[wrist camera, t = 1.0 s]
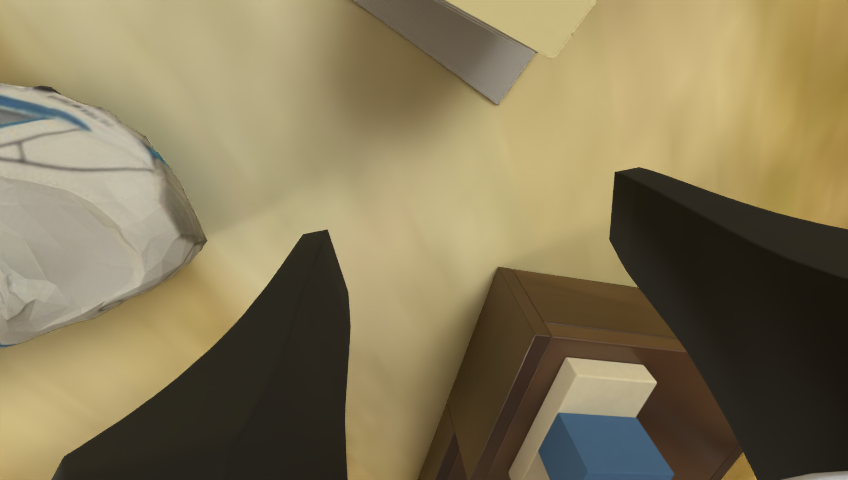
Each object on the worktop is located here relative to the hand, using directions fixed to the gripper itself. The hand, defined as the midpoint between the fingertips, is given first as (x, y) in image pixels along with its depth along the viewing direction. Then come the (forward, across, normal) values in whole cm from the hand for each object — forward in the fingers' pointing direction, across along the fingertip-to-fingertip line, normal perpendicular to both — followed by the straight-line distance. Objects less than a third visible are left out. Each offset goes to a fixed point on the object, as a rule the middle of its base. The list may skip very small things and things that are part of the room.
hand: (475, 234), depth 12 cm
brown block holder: (+9, -6, +22) cm, 24 cm away
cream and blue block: (+4, -4, +15) cm, 16 cm away
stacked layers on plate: (+11, -3, -6) cm, 13 cm away
